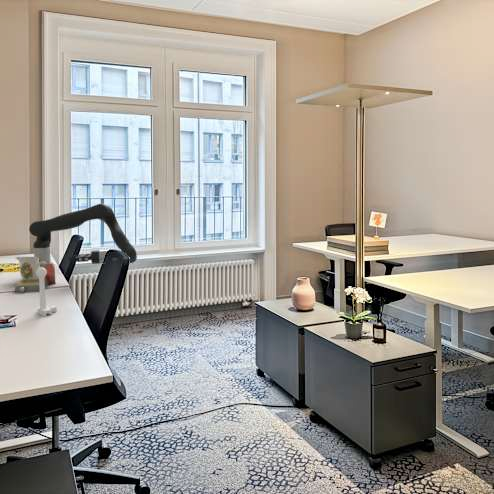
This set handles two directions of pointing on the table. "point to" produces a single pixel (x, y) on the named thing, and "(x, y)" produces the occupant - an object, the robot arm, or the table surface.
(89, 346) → the table surface
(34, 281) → the grey tray
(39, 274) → the joystick
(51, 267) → the spout can
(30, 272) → the pitcher
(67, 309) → the table surface
